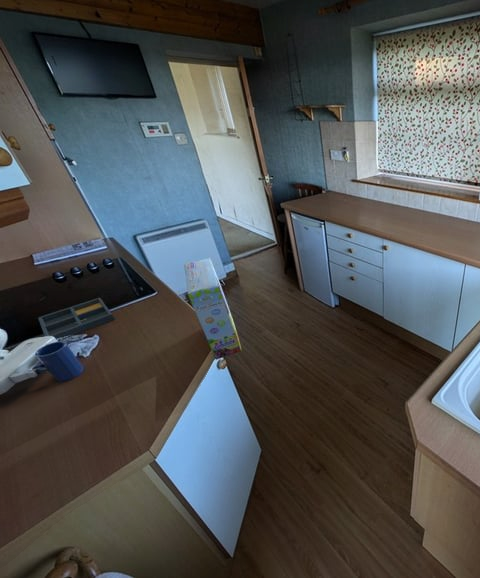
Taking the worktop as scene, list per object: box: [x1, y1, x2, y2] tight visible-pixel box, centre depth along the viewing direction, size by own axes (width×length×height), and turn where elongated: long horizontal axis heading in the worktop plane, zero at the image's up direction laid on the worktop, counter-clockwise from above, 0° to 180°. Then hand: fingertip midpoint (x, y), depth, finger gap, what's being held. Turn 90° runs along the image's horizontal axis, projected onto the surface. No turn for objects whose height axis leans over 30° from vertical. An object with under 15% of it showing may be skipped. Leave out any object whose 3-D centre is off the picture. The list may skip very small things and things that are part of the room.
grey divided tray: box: [37, 297, 116, 339], centre depth 108 cm, size 18×18×3 cm
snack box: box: [183, 257, 243, 360], centre depth 95 cm, size 22×9×26 cm, turn 33°
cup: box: [35, 340, 85, 383], centre depth 85 cm, size 6×6×10 cm
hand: (50, 360), depth 84 cm, fingers open, 8 cm apart
